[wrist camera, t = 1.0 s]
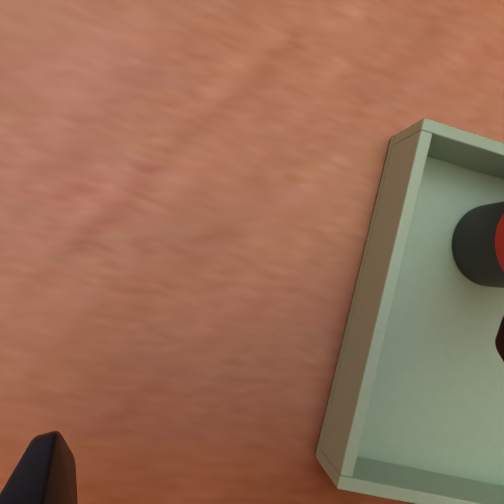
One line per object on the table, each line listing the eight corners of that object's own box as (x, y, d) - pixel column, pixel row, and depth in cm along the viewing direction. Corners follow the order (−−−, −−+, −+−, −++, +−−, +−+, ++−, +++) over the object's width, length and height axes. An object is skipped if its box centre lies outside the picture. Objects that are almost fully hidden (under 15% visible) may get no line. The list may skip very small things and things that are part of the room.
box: (538, 501, 26) (593, 538, 22) (314, 456, 24) (336, 489, 21) (601, 202, 27) (664, 193, 23) (390, 137, 25) (424, 117, 22)
